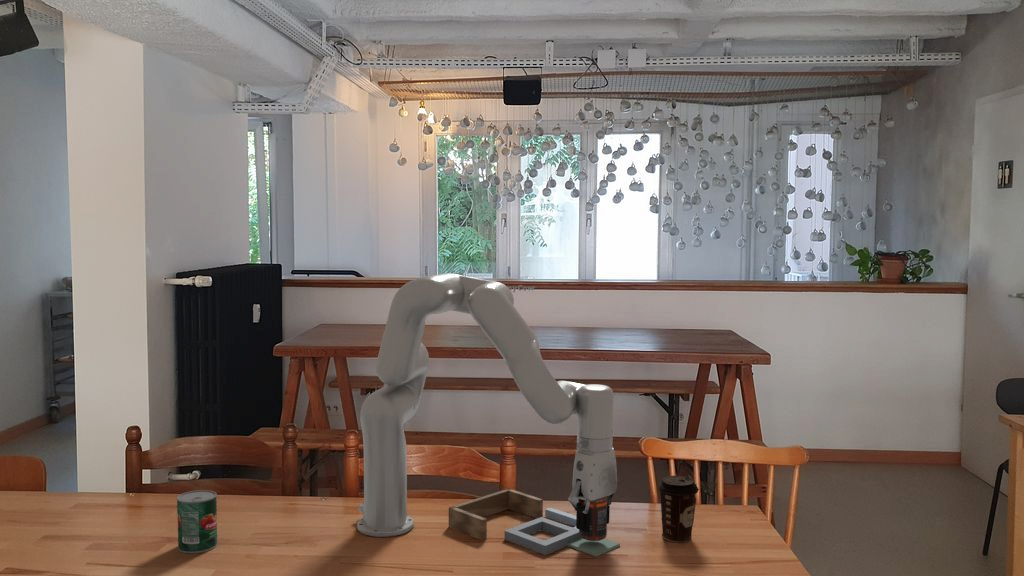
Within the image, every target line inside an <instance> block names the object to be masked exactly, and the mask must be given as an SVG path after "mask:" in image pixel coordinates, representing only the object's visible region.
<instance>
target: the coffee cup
mask: <svg viewBox="0 0 1024 576" xmlns="http://www.w3.org/2000/svg"><path fill="white" fill-rule="evenodd" d="M661 481H662V482H661V483H660V484H659V486H658V490H659V492H660V493H659V495H660V511H661V526H662V527H661V529H662V532H661V533H662V534H661V538H662V539H664V540H666V541H668V542H672V543H686V542H688V541H690V540H691V539H692V534H693V533H692V532H693V526H694V523H695V522H694V521H695V514H696V513H695V512H696V504H697V498H696V494H697V493H698V492H699V490H700V489H699V487H698V486H697V483H695V480H694V479H693V478H692V477H690V476H682V475H669V476H665V477H663V478H662V479H661Z"/></svg>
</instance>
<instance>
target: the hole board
mask: <svg viewBox="0 0 1024 576" xmlns="http://www.w3.org/2000/svg"><path fill="white" fill-rule="evenodd" d="M540 530H541V531H543V530H544V532H546V531H547V532H546V533H549V534H551V535H555V536H552V537H550V538H547V539H545V540H544V539H541V538H539V537H536V536H533V534H535V533H534V532H536V533H538V532H541V531H540ZM503 532H504V539H506V540H505V541H507V540H508V541H507V542H510V541H511V542H510V543H512V542H513V543H512V544H515V543H516V544H515V545H517V544H518V545H517V546H520V545H521V546H520V547H523V546H524V548H525V547H526V548H525V549H528V548H529V550H530V549H531V551H533V550H534V551H533V552H535V553H538V552H539V553H538V554H541V555H544V556H546V555H549V554H551V553H552V554H553V553H554V552H556V551H558V550H561V549H563V548H565V547H568V546H567V543H569V542H572V541H574V540H576V539H579V538H581V537H580V535H579V530H578V529H575V528H573V526H570V525H568V524H565V523H562V522H559V521H556V520H553V519H552V520H551V519H550V518H547V517H544V516H543V517H540V518H534V519H533V520H529V521H527V522H524V523H522V524H519V525H516V526H514V527H510V528H508V529H505V530H504V531H503ZM532 533H533V534H532ZM530 534H531V535H530Z"/></svg>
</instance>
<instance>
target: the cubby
mask: <svg viewBox="0 0 1024 576" xmlns="http://www.w3.org/2000/svg"><path fill="white" fill-rule="evenodd" d="M543 500H544V499H542V498H539V497H537V496H534V495H531V494H527V493H525V492H521V491H519V490H518V491H517V490H515V489H511V488H505V489H502V490H500V491H496V492H494V493H490V494H487V495H484V496H481V497H477V498H474V499H472V500H468V501H465V502H462V503H459V504H458V503H457V504H455V505H453V506H450V507H448V528H451V529H453V530H455V531H458V532H461V533H463V534H465V533H466V535H468V534H469V535H468V536H470V535H472V536H471V537H473V536H474V537H473V538H475V537H477V538H476V539H478V538H479V539H478V540H481V539H482V540H481V541H485V540H487V539H488V536H487V535H488V534H487V533H488V532H487V531H488V528H487V527H488V524H487V523H488V521H487V520H488V519H487V518H486V517H489V516H492V515H495V514H498V513H501V512H503V511H507V510H510V511H513V512H516V511H517V513H519V512H520V513H519V514H522V513H524V514H523V515H525V514H526V516H528V515H529V516H528V517H531V516H532V518H534V517H535V518H534V519H537V518H540V517H543V518H544V516H543V513H544V512H543V508H544V504H543V503H544V501H543ZM500 511H501V512H500ZM497 512H498V513H497ZM494 513H495V514H494ZM491 514H492V515H491ZM488 515H489V516H488ZM485 516H486V517H485ZM486 538H487V539H486ZM484 539H485V540H484Z"/></svg>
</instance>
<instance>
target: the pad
mask: <svg viewBox="0 0 1024 576" xmlns="http://www.w3.org/2000/svg"><path fill="white" fill-rule="evenodd" d="M566 547H568V548H572V549H574V550H577V551H580V552H582V553H586V554H588V555H591V556H594V557H596V558H597V557H599V556H601V555H603V554H606V553H608V552H610V551H613V550H614V549H617V548H619V547H621V543H620V542H617V541H615V540H611V539H609V538H606V537H605V538H604V539H602V540H599V541H589V540H585V539H583V538H579V539H576V540H574V541H572V542H569V543H567V546H566Z"/></svg>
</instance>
